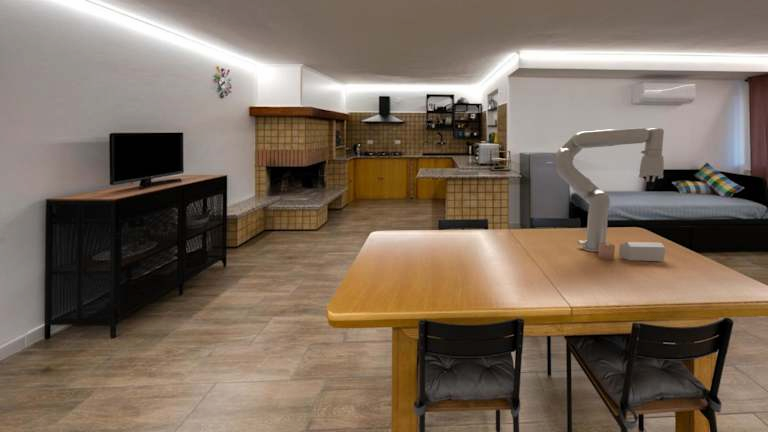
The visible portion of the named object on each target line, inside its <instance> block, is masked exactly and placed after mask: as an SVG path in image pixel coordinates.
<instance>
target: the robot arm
mask: <svg viewBox="0 0 768 432" xmlns="http://www.w3.org/2000/svg"><path fill="white" fill-rule="evenodd" d="M664 131H665V130H664V129H663V128H658V127H655V128H654V127H652V128H645V127H636V128H625V129H624V128H623V129H622V128H621V129H601V130H590V131H589V130H588V131H580V132H576V133H574V135H572V136H571V137H570V138H569V139H568V140H567V141H566V142H565V144H563V145H562V146H561V147H560V148H559V149H558V150H557V151H556V153H555V158H556V159H555V169H556V172H557V174H558V176H559V177H561V179H562V180H563V181H565V183H566V184H568V185H569V186H570V187H571V188H572V190H573V192H575V193H576V194H577V195H578V196H579V197H580V198H581V199H583V200H584V202H586V203H587V204H588V211H587V212H588V213H587V225H586V238H585V240H577V244H578V245H581V246H582V245H583V246H582V250H584V251H587V252H593V253H599V244H600V243H607V231H608V217H609V210H610V204H611V200H610V196H609V195H608V194H607V193H606V191H603V190H601V189H600V188H599V187H598V186H597V185H595V184H594V183H593V182H592V180H591V179H590V178H588V177H587V176H585V175H584V174H583V173H582V172H581V171H580V170H579V169H577V168H576V167H575V165H574V162H573V161H574V159H575V156H577V154H579V153H580V152H581V151H582V150H583V149H589V148H590V149H591V148H592V149H593V148H603V147H606V148H607V147H613V146H619V145H621V146H623V145H634V144H635V145H637V144H644V143H645V146H644V150H641V152H640V153H641V154H643V155H642V156H641V160H640V164H639V165H640V167H639V175H638V178H641V179H644V180H645V181H646V188H647V190H650V191H652V190H653V189H654V186H655V182H656V181H657V180H658V179H664V171H665V170H664V168H665V167H664V166H665V165H664V164H665V163H664V156H663V155H662V154H663V144H664ZM650 177H652V178H651V179H650Z"/></svg>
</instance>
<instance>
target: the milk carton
mask: <svg viewBox="0 0 768 432" xmlns="http://www.w3.org/2000/svg"><path fill="white" fill-rule="evenodd" d="M618 248H619V249H618V258H619V259H624V260H628V261H639V262H641V261H644V262H664V261H665V254H666V253H665V252H666V247H665V245H664V244H663V243H662V242H654V241H653V242H648V241H646V242H645V241H625V242H624V243H620V244H619V247H618Z"/></svg>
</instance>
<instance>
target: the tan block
mask: <svg viewBox="0 0 768 432" xmlns="http://www.w3.org/2000/svg"><path fill="white" fill-rule="evenodd" d="M615 249H616V244H614V243H609V242H606V243H600V244H599V252H598V256H597V257H598V259H599V260H603V261H613V260H615V252H616V251H615Z"/></svg>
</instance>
